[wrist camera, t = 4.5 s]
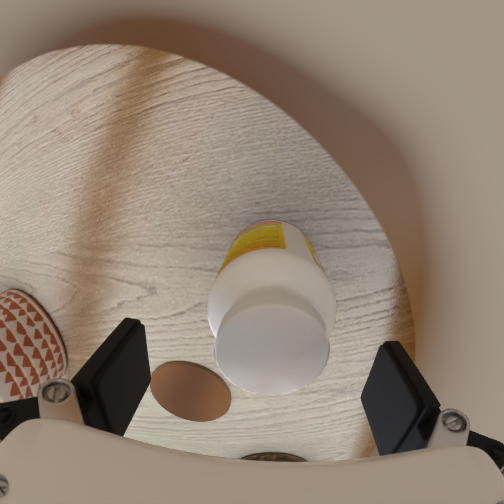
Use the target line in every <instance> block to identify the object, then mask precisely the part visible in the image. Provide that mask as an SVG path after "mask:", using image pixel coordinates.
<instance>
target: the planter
mask: <svg viewBox="0 0 504 504" xmlns="http://www.w3.org/2000/svg"><path fill="white" fill-rule="evenodd" d="M66 367H67V357H66V352H65V348H64V345H63V342H62V340H61V337H60V335H59V333H58V331H57V329H56V327H55V326H54V324H53V322H52V321H51V319H50V318H49V316H48V315H47V314H46V312H45V311H44V310H43V309H42V307H41V306H40V305H39V304H38V303H37V302H36V301H35V300H34V299H33V298H31V297H30V296H29V295H27V294H26V293H24V292H22V291H20V290H16V289H10V290H7V291H5V292H3V293H2V294H0V403H3V402H9V401H15V400H20V399H25V398H31V397H36V396H38V389H39V387H40V385H41V384H43V383H44V382H45V381H47V380H49V379H52V378H61V377H62V376H63V374H64V373H65V371H66Z"/></svg>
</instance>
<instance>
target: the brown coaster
mask: <svg viewBox="0 0 504 504" xmlns="http://www.w3.org/2000/svg"><path fill="white" fill-rule="evenodd" d="M150 388H151V392H152V394H153V396H154V398H155V399H156V401H157V402H158V403H159V404H160V405H161V406H162V407H163V408H164V409H166V410H167V411H168V412H170V413H172V414H174V415H175V416H178V417H180V418H183V419H186V420H190V421H198V422H205V421H211V420H215V419H218V418H220V417H221V416H223V415H224V414H225V413H226V412H227V411H228V409H229V407H230V403H231V394H230V391H229V388H228V386H227V385H226V383H225V382H224V381H223V380H222V379H221V378H220V377H219V376H218V375H217V374H215V373H214V372H212V371H211V370H209V369H207V368H205V367H203V366H200V365H197V364H194V363H190V362H182V361H176V362H169V363H166V364H163V365H161V366H160V367H158V368H157V369H156V370H155V371H154V373H153V375H152V377H151V380H150Z"/></svg>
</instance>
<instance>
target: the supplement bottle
mask: <svg viewBox="0 0 504 504" xmlns="http://www.w3.org/2000/svg"><path fill="white" fill-rule="evenodd" d="M336 312H337V306H336V298H335V294H334V291H333V288H332V286H331V283H330V281H329V279H328V277H327V275H326V274H325V272H324V270H323V268H322V266H321V264H320V262H319V260H318V258H317V256H316V254H315V252H314V250H313V248H312V247H311V245H310V243H309V241H308V240H307V238H306V237H305V236H304V234H303V233H302V232H301V231H300V230H298V229H297V228H296V227H294V226H293V225H291V224H289V223H286V222H283V221H278V220H265V221H260V222H257V223H254V224H252V225H250V226H249V227H247V228H246V229H244V230H243V231H242V232H241V233H240V234H239V235H238V236H237V238H236V239H235V241H234V243H233V244H232V246H231V248H230V250H229V252H228V254H227V256H226V258H225V261H224V263H223V265H222V267H221V269H220V271H219V273H218V275H217V277H216V279H215V281H214V284H213V286H212V289H211V291H210V294H209V298H208V305H207V314H208V321H209V325H210V328H211V331H212V333H213V335H214V337H215V346H214V354H215V359H216V363H217V365H218V367H219V369H220V371H221V372H222V374H223V375H224V376H225V377H226V378H227V379H228V380H229V381H230V382H231V383H232V384H234V385H235V386H237V387H238V388H240V389H242V390H244V391H247V392H250V393H253V394H257V395H265V396H280V395H286V394H290V393H293V392H296V391H298V390H301V389H303V388H305V387H306V386H308V385H309V384H311V383H312V382H313V381H314V380H316V379H317V378H318V377H319V375H320V374H321V373H322V371H323V370H324V368H325V366H326V364H327V361H328V358H329V352H330V344H329V339H328V338H329V336H330V334H331V332H332V330H333V327H334V324H335V320H336Z"/></svg>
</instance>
